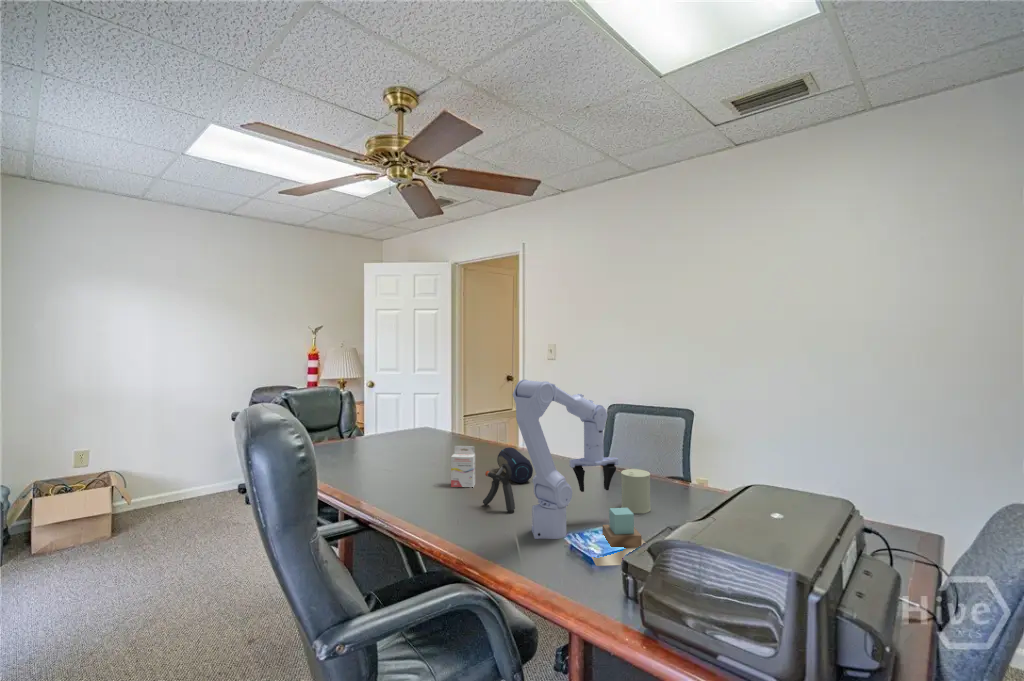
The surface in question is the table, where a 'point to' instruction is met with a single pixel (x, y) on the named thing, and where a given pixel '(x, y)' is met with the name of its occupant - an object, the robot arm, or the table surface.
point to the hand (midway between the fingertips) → (594, 490)
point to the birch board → (613, 557)
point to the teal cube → (621, 520)
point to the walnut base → (622, 538)
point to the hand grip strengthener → (506, 487)
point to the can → (636, 490)
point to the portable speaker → (516, 464)
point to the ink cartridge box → (463, 467)
